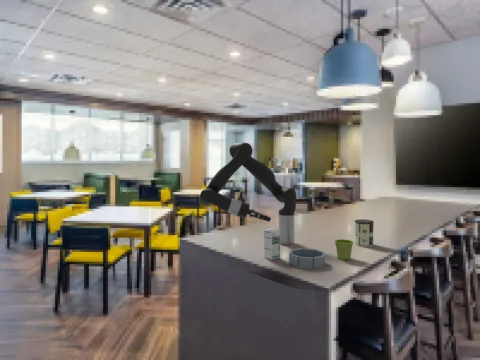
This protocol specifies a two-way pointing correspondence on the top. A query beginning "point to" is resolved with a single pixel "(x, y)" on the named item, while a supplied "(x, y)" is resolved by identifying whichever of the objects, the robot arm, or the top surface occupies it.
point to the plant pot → (343, 248)
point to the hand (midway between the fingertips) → (268, 219)
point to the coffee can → (364, 233)
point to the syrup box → (272, 243)
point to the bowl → (307, 258)
